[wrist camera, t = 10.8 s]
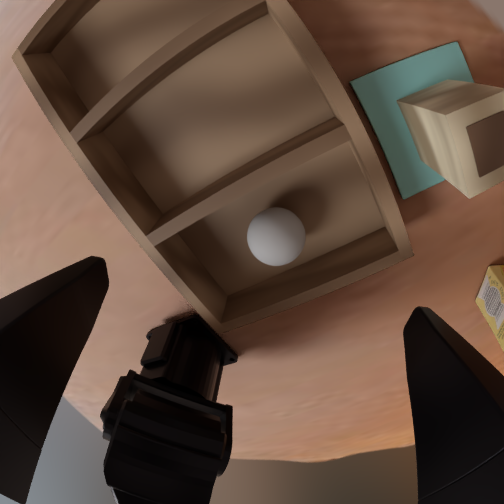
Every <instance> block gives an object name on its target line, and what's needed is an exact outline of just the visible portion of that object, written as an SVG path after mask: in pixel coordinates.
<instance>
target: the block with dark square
mask: <svg viewBox="0 0 504 504" xmlns="http://www.w3.org/2000/svg"><path fill="white" fill-rule="evenodd" d="M397 104H398V106H399V108H400V110H401V112H402V115H403V117H404V119H405V122H406V124H407V126H408V129H409V131H410V134H411V136H412V139H413V141H414V144H415V147H416V149H417V152H418V155H419V157H420V160H421V161H422V162H424V163H425V164H426V165H428V166H429V167H430V168H432V169H433V170H434V171H436V172H437V173H438V174H439V175H441V176H442V177H443V178H445V179H446V180H447V181H448V182H450V183H451V184H452V185H453V186H455V187H456V188H457V189H458V190H459V191H461V192H462V193H463V194H464V195H465V196H467V197H468V198H469V199H470V198H472V197H474V196H476V195H478V194H480V193H482V192H483V191H485V190H487V189H489V188H491V187H493V186H495V185H497V184H499V183H500V182H502V181H504V88H500V87H495V86H490V85H484V84H478V83H472V82H465V81H457V80H449V79H447V80H445V81H442V82H440V83H437V84H435V85H432V86H430V87H427V88H425V89H422V90H420V91H418V92H415V93H413V94H410V95H408V96H406V97H403V98H401V99H399V100H397Z"/></svg>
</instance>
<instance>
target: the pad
mask: <svg viewBox="0 0 504 504" xmlns="http://www.w3.org/2000/svg"><path fill="white" fill-rule="evenodd" d="M447 79H449V80H457V81H465V82H472V83H474V81H473V78H472V76H471V73H470V71H469V68H468V66H467V63H466V61H465V58H464V56H463V54H462V51H461V49H460V47H459V45H458V43H457V42H452V43H449V44H446V45H442V46H439V47H436V48H433V49H430V50H428V51H425V52H422V53H419V54H416V55H414V56H411V57H408V58H406V59H403V60H400V61H398V62H395V63H393V64H390V65H388V66H385V67H383V68H380V69H378V70H375V71H373V72H371V73H368V74H366V75H364V76H361V77H359V78H357V79H355V80H352V81H350V82H349V83H350V85H351V87H352V88H353V90H354V92H355V94H356V96H357V98H358V100H359V102H360V104H361V106H362V108H363V110H364V112H365V114H366V116H367V118H368V120H369V122H370V124H371V126H372V128H373V130H374V132H375V134H376V137H377V139H378V141H379V143H380V145H381V148H382V150H383V152H384V155H385V157H386V159H387V162H388V164H389V167H390V169H391V172H392V174H393V177H394V179H395V182H396V184H397V187H398V190H399V192H400V195H401V198H402V199H403V200H404V199H406V198H408V197H411V196H413V195H415V194H417V193H419V192H421V191H423V190H425V189H427V188H429V187H431V186H433V185H436V184H438V183H440V182H442V181H444V180H446V179H445V178H443V177H442V176H441V175H439V174H438V173H437V172H436V171H434V170H433V169H432V168H430V167H429V166H428V165H426V164H425V163H424V162H422V161H421V160H420V157H419V155H418V152H417V149H416V147H415V144H414V141H413V139H412V136H411V134H410V131H409V129H408V126H407V124H406V122H405V119H404V117H403V115H402V112H401V110H400V108H399V106H398V104H397V100H399V99H401V98H403V97H406V96H408V95H410V94H413V93H415V92H418V91H420V90H422V89H425V88H427V87H430V86H432V85H435V84H437V83H440V82H442V81H445V80H447Z"/></svg>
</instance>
